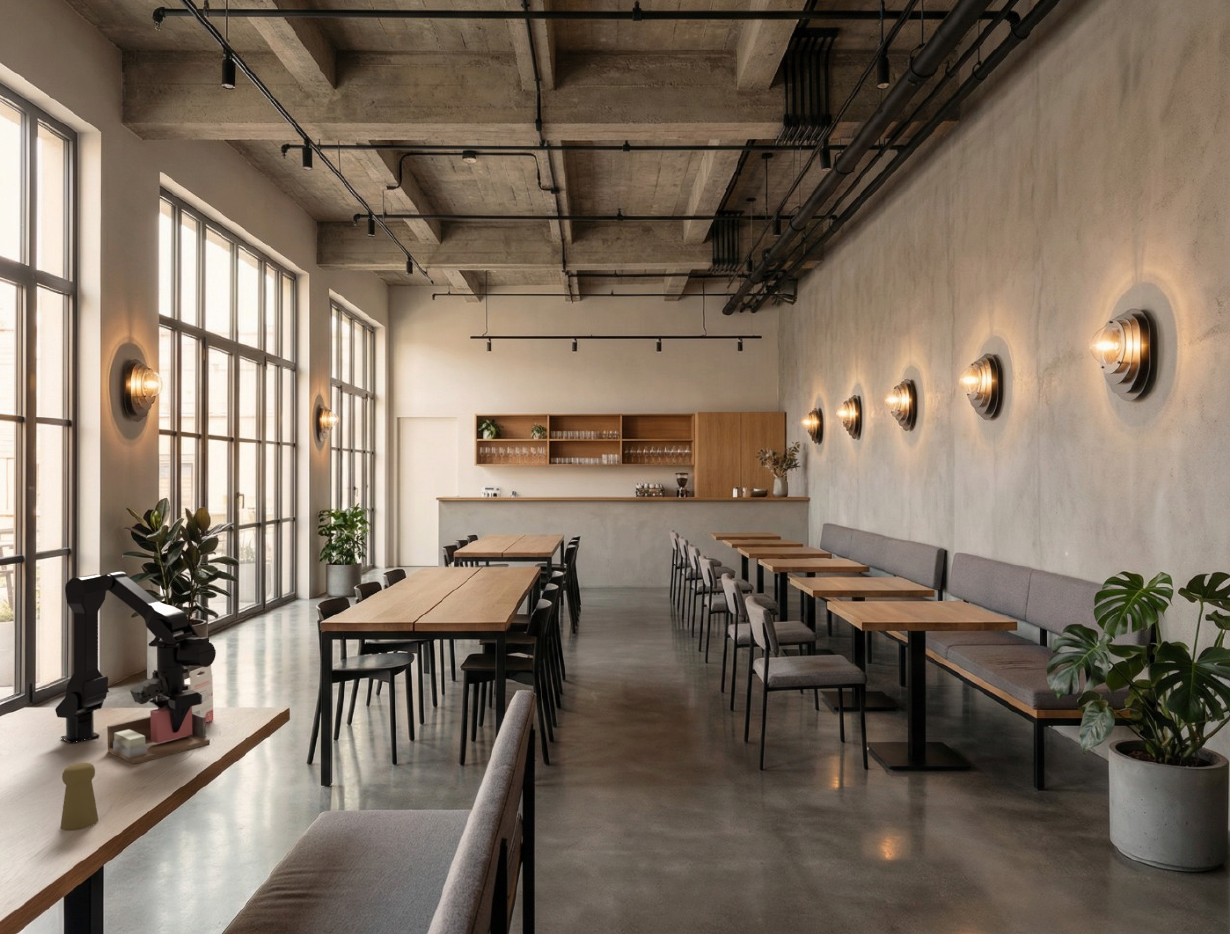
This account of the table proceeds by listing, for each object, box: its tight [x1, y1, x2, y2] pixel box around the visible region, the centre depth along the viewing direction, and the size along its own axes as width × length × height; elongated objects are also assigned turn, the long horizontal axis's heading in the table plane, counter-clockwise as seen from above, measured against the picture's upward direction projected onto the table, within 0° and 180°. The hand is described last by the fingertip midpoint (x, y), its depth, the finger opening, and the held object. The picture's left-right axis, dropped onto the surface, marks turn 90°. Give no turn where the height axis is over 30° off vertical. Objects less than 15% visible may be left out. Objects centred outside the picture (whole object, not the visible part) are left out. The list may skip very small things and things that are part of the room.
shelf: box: [107, 712, 211, 764], centre depth 201 cm, size 14×17×6 cm
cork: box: [60, 762, 99, 832], centre depth 159 cm, size 6×6×11 cm
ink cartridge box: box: [182, 664, 214, 724], centre depth 219 cm, size 9×5×15 cm, turn 168°
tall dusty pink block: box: [149, 706, 192, 743], centre depth 203 cm, size 4×8×7 cm, turn 141°
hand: (171, 730), depth 203 cm, fingers closed on tall dusty pink block, 3 cm apart
